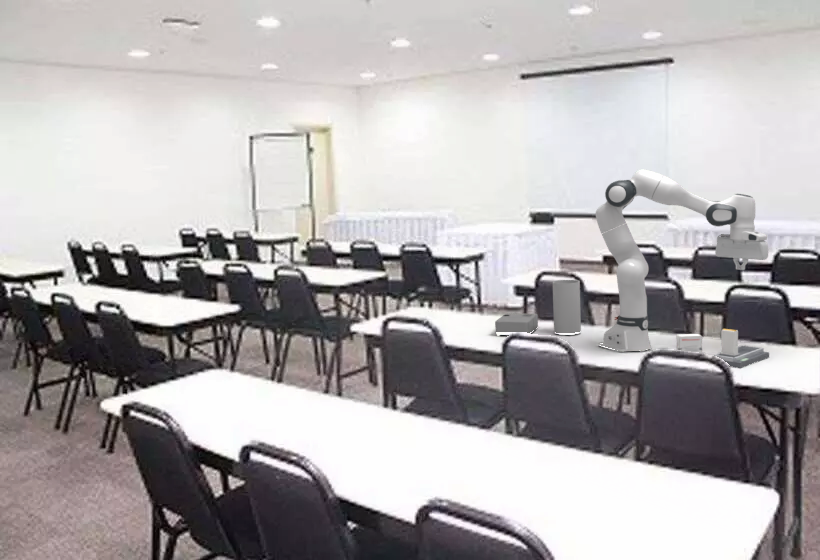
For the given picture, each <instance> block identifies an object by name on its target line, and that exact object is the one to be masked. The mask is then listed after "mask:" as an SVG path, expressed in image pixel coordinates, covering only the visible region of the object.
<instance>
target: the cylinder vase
mask: <svg viewBox="0 0 820 560" xmlns="http://www.w3.org/2000/svg"><path fill="white" fill-rule="evenodd" d="M580 283H581V281H580V280H577V279H559V280H553V281H552V304H553V307H552V309H553V332H556V333H575V332H580V331H581V332H582V327H581V326H582V324H581V322H582V321H581V317H582V315H581V289H580V288H581V287H580V286H581V285H580Z"/></svg>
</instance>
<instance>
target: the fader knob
mask: <svg viewBox="0 0 820 560" xmlns="http://www.w3.org/2000/svg"><path fill="white" fill-rule="evenodd" d="M720 332H721V333H720V334H721V336H720V339H721V341H720V342H721V343H720V346H721V349H720V351H721V353H720V352H718V353H719V355H720V356H727V357H733V358H734V357H737V356H740V354H739V353H738V346H739V331H738V329H731V328H729V329H728V328H722V329H721V331H720Z"/></svg>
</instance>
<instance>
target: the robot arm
mask: <svg viewBox="0 0 820 560" xmlns="http://www.w3.org/2000/svg"><path fill="white" fill-rule="evenodd" d="M638 196H639V197H643V198H645V199H648V200H650V201H653V202H655V203H658V204H660V205H661V204H662V205H665V206H678V207H683V208H687V209H689V210H690V211H693V212H696V213H699V214H700V215H702V216H704V217H705V219H706V220H707V222H708V223H709V224H710V225H711V226H714V227H724V226H729V233H728V234H724V233H721V234H719V235H718V236H717V237H716V244H715V245H716V246H715V252H714V254H715V255H716V257H718V258H730V259H731V258H733V260H732V261H733V263H734V265H735V270H740V271H745V270H746V265H747V264H748V262H749V260H757V261H765V260H767V259H768V258H769V244H768V242H767V239H768V236H767V234H764V233H762V232H760V231H757V230H755V219H756V202H755V201H756V200H755V199H754V197H753V196H751V195H747V194H744V193H734V194H733V195H732V196H729V197H728V198H725V199H723V200H709V199H706V198H705V197H702V196H699V195H697V194H695V193H693V192H690V191H689V190H687V189H686V188H684V187H683V186H682V185H681V184H680V183H678V182H677V181H675V180H674V179H672V178H670V177H668V176H666V175H664V174H662V173H659V172H656V171H652V170H648V169H643V168H641V169H637V171H636V172H634V173H633V175H632V177H630V179H624V180H623V179H622V180H621V179H619V180H618V179H617V180H616V181H613V182H611V183H610V184H609V185H608V186H607V187H606V189H605V193H604V197H605V199H606V200H605V201H606V202H605V203H604V204H601V205H600V206H599V207H598V208H596V211H595V219H596V223H597V226H598V229H599V231H600V233H601V236H602V238H603V240H604V243H605V244H606V247H607V249H608V251H609V253H611V255H612V257H613V258H614V259H615V261H616V263H617V264H618V266H617V267H616V274H615V275H616V279H617V280H616V282H617V288H618V296H619V315H618V316H615V317H614V321H616V323H615V324H614V325H613V326H612V327H610V328H608V330H606V331H605V332H604V335H603V340H602V342H599V343H598V344H597V346H598V345H601V346H605V347H608V348H612V349H615V350H618V351H639V350H646V349H650V348H651V349H652V346H651V342H650V341H651V340H650V338H649V337H650V336H649V330H648V328H649V315H648V297H647V293H646V292H647V291H646V284H645V278H646V277H647V276H648V273H649V269H650V268H649V264H648V262H647V260H646V258H645V256H644V255H643V253H642V251H641V250H640V248H639V246H638V245H637V243H636V241H635V239H634V237H633V235H632V233H631V231H630V228H629V226H628V223H627V221H626V219H625V218H624V214H623V210H624V209H625V208H626V207H627V206H629V205H630V204H631V203H632V202H633V201H634V199H635V197H638ZM740 259H741V260H742V264H740V262H739V261H740ZM600 343H603V344H600ZM651 349H650V350H651ZM618 351H617V352H618Z"/></svg>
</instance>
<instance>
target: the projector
mask: <svg viewBox="0 0 820 560" xmlns="http://www.w3.org/2000/svg"><path fill="white" fill-rule="evenodd" d="M494 323H495V326H494V327H495V329H494V330H495V333H496V332H527V333H530V332H532V331H533V330H535V329H536V328H537V327H539V318H538V314H537V313H516V312H515V313H513V312H511V313H509V312H508V313H504V314H503V315H502V316H500V317H499V318H498V319H496V320H495V321H494ZM537 329H538V328H537ZM537 329H536V330H537ZM536 330H535V331H536Z"/></svg>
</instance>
